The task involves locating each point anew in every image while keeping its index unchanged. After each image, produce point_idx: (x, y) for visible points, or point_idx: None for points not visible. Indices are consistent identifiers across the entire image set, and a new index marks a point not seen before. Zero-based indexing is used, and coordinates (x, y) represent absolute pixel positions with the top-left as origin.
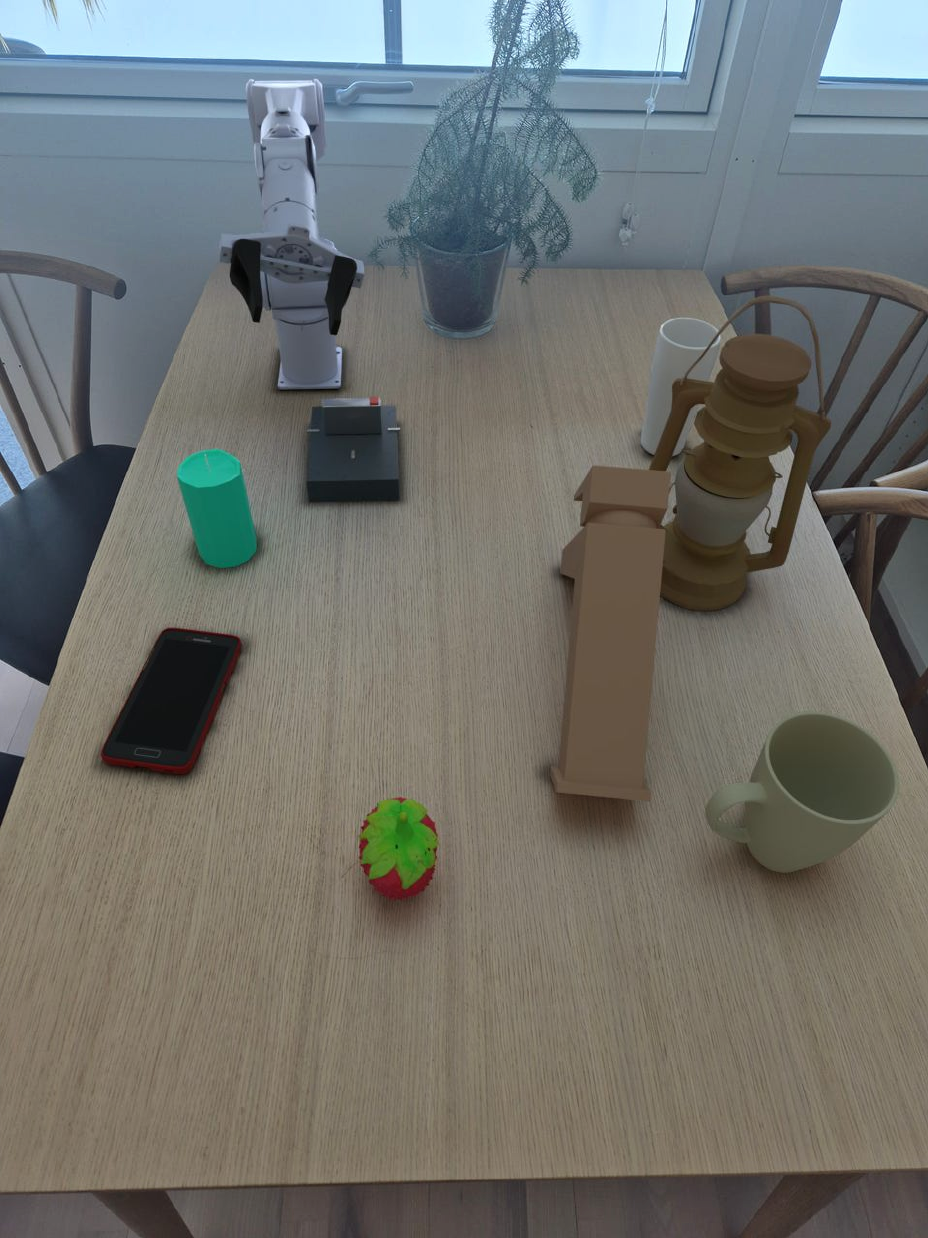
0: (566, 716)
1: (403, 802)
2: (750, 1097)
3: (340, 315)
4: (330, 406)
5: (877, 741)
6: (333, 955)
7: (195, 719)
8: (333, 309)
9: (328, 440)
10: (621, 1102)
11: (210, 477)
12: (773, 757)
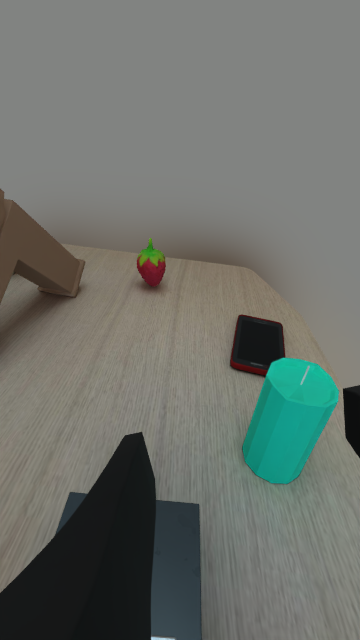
0: (64, 267)
1: (148, 256)
2: (69, 249)
3: (121, 441)
4: (156, 636)
5: None
6: (175, 278)
7: (243, 329)
8: (138, 469)
9: (163, 631)
10: (102, 253)
11: (296, 377)
12: None
